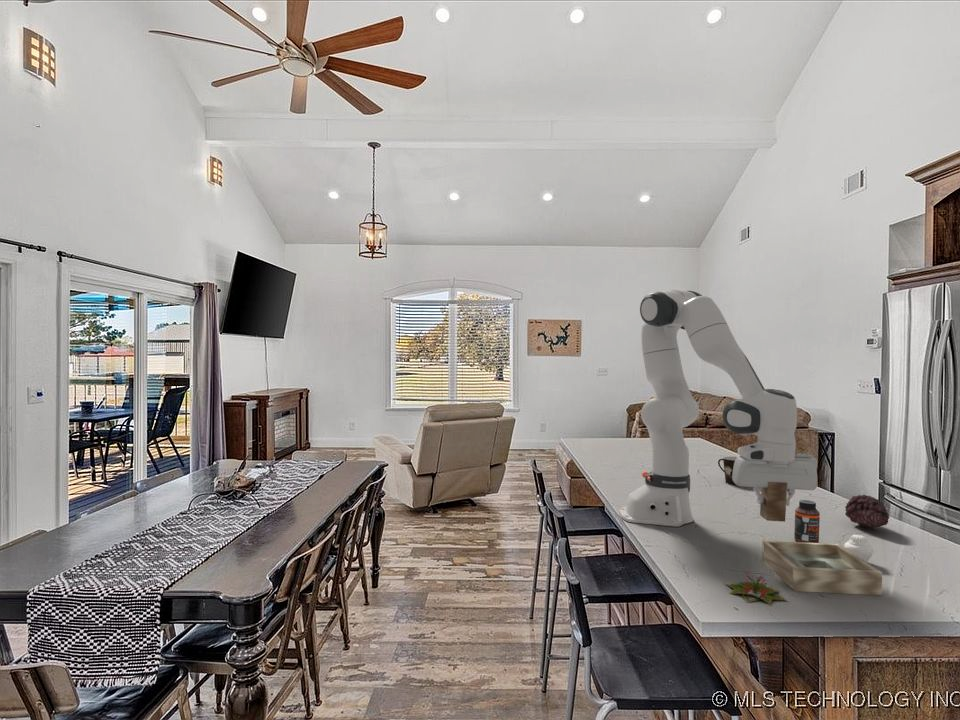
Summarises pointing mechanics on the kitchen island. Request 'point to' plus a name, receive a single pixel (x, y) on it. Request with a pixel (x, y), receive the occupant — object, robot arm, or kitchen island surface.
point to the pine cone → (866, 511)
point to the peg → (774, 501)
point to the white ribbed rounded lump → (859, 547)
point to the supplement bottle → (807, 522)
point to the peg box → (821, 568)
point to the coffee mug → (728, 468)
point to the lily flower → (755, 590)
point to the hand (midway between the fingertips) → (772, 504)
